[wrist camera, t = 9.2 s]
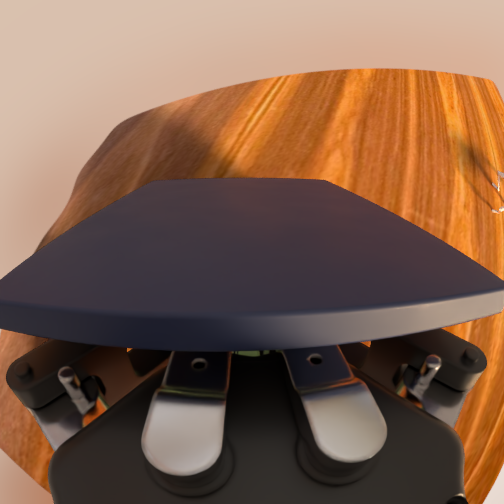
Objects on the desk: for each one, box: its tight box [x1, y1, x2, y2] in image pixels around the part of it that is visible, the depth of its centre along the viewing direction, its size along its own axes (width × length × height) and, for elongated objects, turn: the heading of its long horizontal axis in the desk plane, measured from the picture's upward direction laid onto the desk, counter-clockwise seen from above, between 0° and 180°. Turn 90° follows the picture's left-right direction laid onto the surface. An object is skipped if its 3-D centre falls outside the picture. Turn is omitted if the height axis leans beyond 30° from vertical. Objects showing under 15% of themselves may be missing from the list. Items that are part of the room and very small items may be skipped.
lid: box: [0, 178, 504, 352], centre depth 12 cm, size 17×13×1 cm
